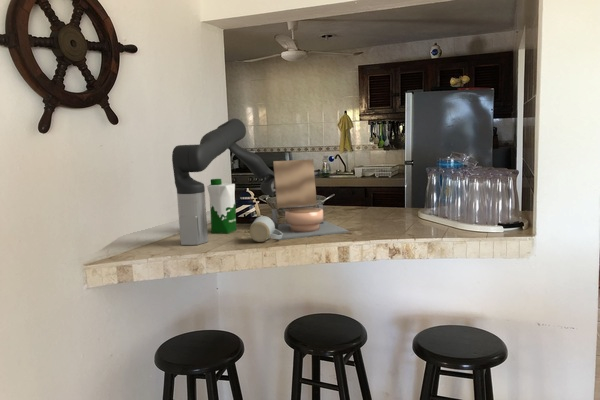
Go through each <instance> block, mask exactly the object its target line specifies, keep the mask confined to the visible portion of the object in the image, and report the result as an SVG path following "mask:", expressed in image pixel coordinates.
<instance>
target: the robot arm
mask: <svg viewBox="0 0 600 400" xmlns="http://www.w3.org/2000/svg"><path fill="white" fill-rule="evenodd" d="M246 134H247V128H246V126H245V124H244V122H243V121H242V120H240V119H238V118H232V119H229V120H227V121H226V122H224V123H222V124H220V125H219V126H218V127H216V128H215V129H212V130H210V131H209V132H207V133H205V134H204V135H203V136H202V137H201V139H200V141H199V143H198V144H179V145H175V146H174V147H173V150H172V154H171V161H172V170H173V177H174V184H175V185H174V186H175V189H176V196H177V198H176V199H177V212H178V213H177V214H178V226H179V238H180V239H179V240H180V245H181V246H196V245H197V246H199V245H201V244H205V243H208V242H209V237H208V236H209V234H208V219H207V206H206V203H207V202H206V192H205V191H206V186H205V184H204V183H203V182H201V181H198V180H196V179H194V178H193V177H192V176H191V175H190V173H200V172H203V171H205V170H206V169H207V168H208V167H209V166H210V165H211V163H212V162H213V161H214V160H216V158H218V156H221V155H222V154H223V153H224V152H226V151H227V149H228V150H229V151H230V152H231V153H232V154H233V155H234V156H235V157H237V158H238V159H239V160H240V161H241V162H242V163H244V165H245V166H246V167H247V168H248V169H249V170H250V172H251V173H252V174H253V175H254V177H256V179H259V180H262V179H263V181H262V182H261V183H260V187H259V188H260V191H261V192H262V193H263V194H264V195H266V196H269V197H270V196H274V195H275V196H276V190H275V178H274V170H272V169H270V168H269V166H267V164H266V163H265V161H264V160H263V159H262V157H260V156H259V155H258V154H256V153H254V152H252V151H250V150H247V149H246V148H243V147H242V146H241V145H239V144H238V142H239V141H240V140H242V139H244V138H245V136H246Z"/></svg>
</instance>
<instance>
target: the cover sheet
mask: <svg viewBox="0 0 600 400" xmlns="http://www.w3.org/2000/svg"><path fill="white" fill-rule="evenodd" d="M272 163H273V164H272V165H273V172H274V178H275V190H276V194H275V201H276V209H277V211H278V210H279V211H281V210H289V209H294V208H317V205H318V203H317V190H316V189H317V188H316V180H315V179H316V178H315V177H316V176H315V168H314V167H315V166H314V159H313V158H312V159H311V158H310V159H292V160H273V161H272Z"/></svg>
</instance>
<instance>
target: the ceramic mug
mask: <svg viewBox="0 0 600 400" xmlns="http://www.w3.org/2000/svg"><path fill="white" fill-rule="evenodd" d="M248 233H249V236H250V238H251V239H252V240H253V241H255V242H257V243H263V242H266V241H267V240H268V239H269V238H271V239H274V240H279V239H281V238H282V235H283V234H282V232H280V231H278V230H276V229H275V225H274V222H273V221H272V218H270V217H269V216H265V215H262V216H258V217H256V218H255V219H254V221H253V222H252V223H251V225H250V227H249V232H248ZM273 233H274V234H273ZM275 234H277V235H275Z"/></svg>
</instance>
